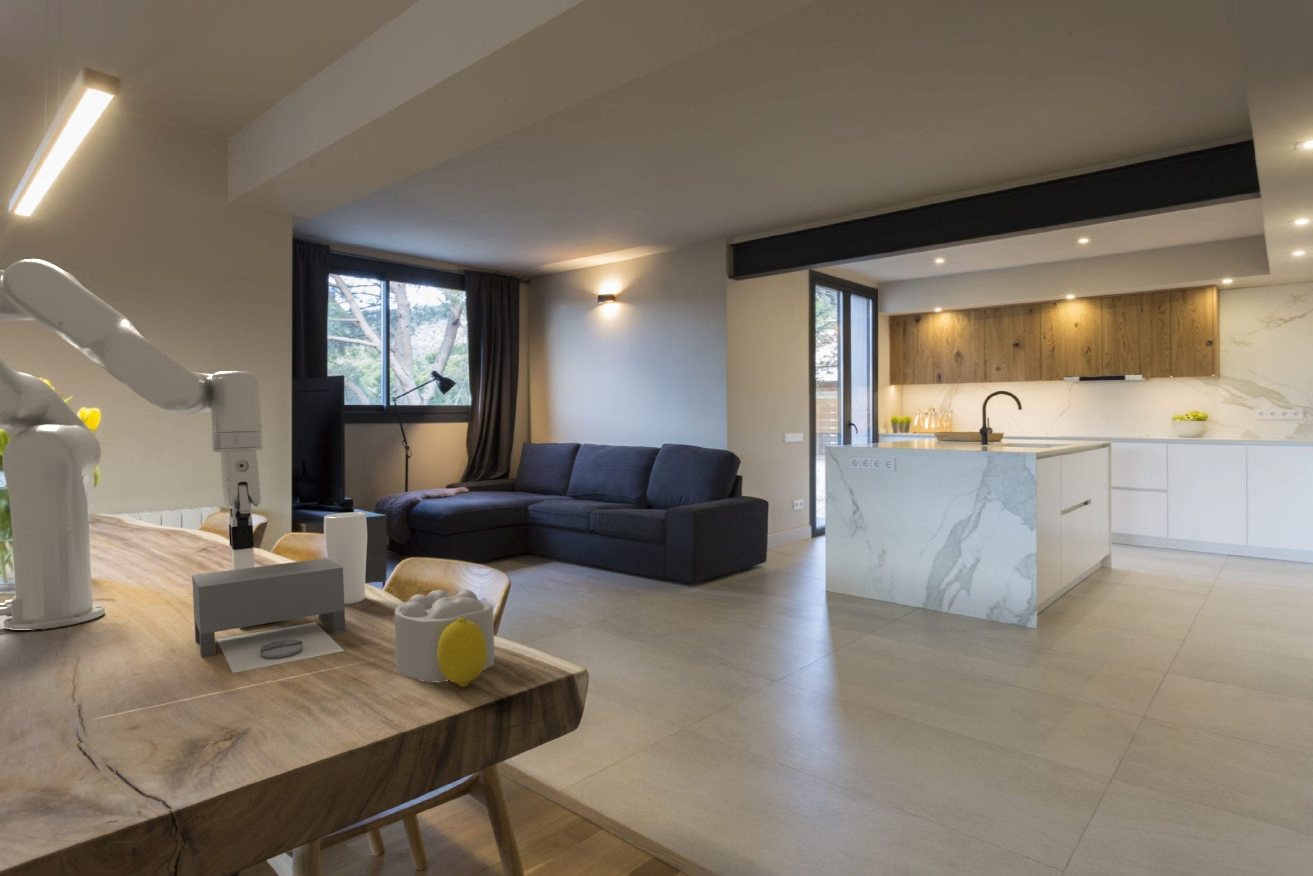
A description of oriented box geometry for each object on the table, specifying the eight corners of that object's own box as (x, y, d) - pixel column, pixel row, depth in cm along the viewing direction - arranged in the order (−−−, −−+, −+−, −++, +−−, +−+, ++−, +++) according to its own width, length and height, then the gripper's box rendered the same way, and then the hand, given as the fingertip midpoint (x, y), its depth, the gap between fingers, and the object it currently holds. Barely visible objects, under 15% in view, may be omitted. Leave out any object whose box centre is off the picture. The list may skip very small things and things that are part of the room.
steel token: (263, 662, 94) (263, 654, 94) (257, 652, 98) (257, 645, 98) (306, 653, 97) (305, 646, 97) (298, 644, 101) (298, 637, 101)
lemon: (492, 677, 87) (490, 610, 86) (482, 695, 81) (480, 623, 81) (445, 679, 86) (442, 612, 86) (432, 697, 81) (429, 625, 81)
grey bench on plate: (201, 658, 97) (198, 587, 96) (195, 641, 105) (192, 575, 105) (345, 631, 107) (342, 567, 107) (329, 617, 115) (327, 557, 115)
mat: (232, 674, 90) (232, 672, 90) (217, 640, 105) (216, 639, 105) (344, 652, 98) (344, 650, 98) (315, 623, 112) (315, 622, 112)
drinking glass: (326, 600, 127) (323, 514, 127) (368, 595, 130) (365, 511, 130) (327, 608, 121) (323, 518, 121) (371, 603, 124) (367, 515, 124)
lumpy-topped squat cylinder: (431, 687, 84) (428, 612, 84) (377, 663, 93) (374, 595, 93) (505, 663, 92) (503, 594, 92) (449, 643, 101) (447, 580, 100)
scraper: (239, 626, 110) (235, 532, 110) (223, 598, 128) (220, 517, 128) (283, 619, 113) (280, 528, 113) (262, 592, 132) (259, 514, 131)
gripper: (269, 442, 123) (273, 551, 124) (255, 441, 136) (259, 539, 137) (217, 444, 119) (221, 556, 119) (208, 442, 132) (212, 544, 132)
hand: (241, 546), depth 128 cm, fingers closed on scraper, 3 cm apart
